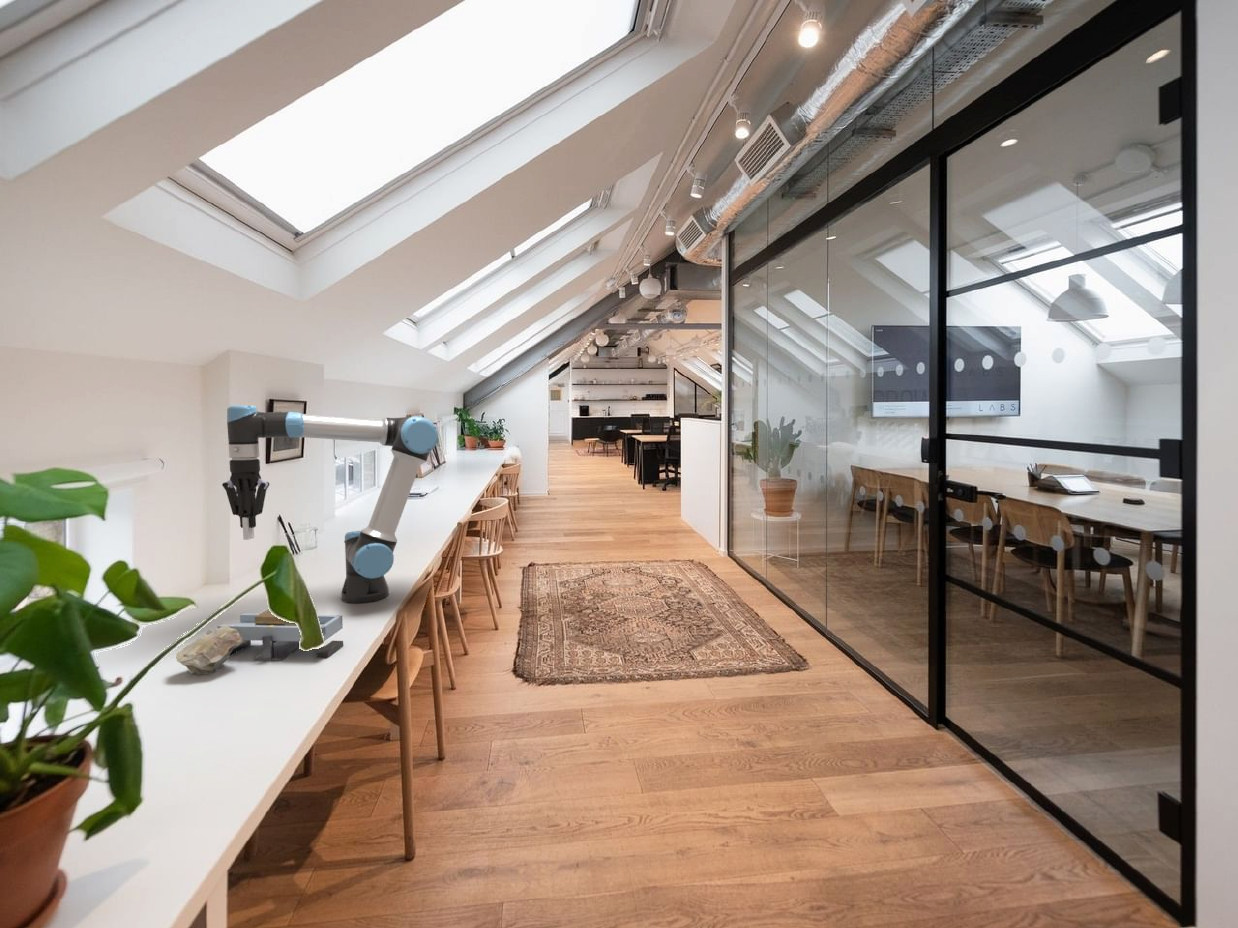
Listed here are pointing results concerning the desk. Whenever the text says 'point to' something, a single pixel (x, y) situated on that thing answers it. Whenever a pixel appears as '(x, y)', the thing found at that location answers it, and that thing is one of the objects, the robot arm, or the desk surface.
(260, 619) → the brown wooden block
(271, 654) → the fulcrum
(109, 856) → the desk surface
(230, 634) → the stone
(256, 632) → the beam
